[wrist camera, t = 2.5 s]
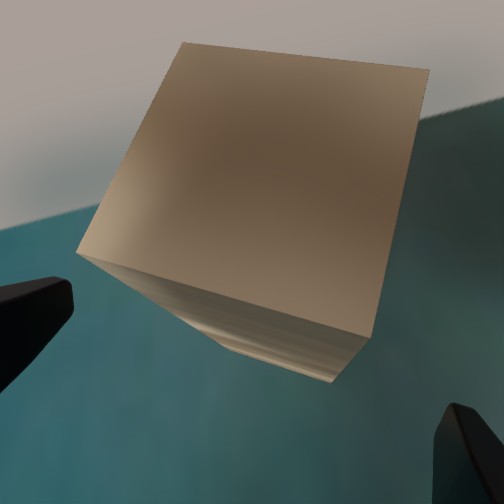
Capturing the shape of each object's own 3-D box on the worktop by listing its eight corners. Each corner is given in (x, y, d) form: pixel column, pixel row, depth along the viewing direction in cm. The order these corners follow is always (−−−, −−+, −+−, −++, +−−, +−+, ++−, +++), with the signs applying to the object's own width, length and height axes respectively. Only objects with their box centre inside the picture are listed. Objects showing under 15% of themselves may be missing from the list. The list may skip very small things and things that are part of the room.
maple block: (330, 383, 17) (371, 338, 5) (229, 350, 18) (75, 252, 6) (355, 282, 19) (429, 69, 7) (260, 257, 20) (182, 42, 8)
